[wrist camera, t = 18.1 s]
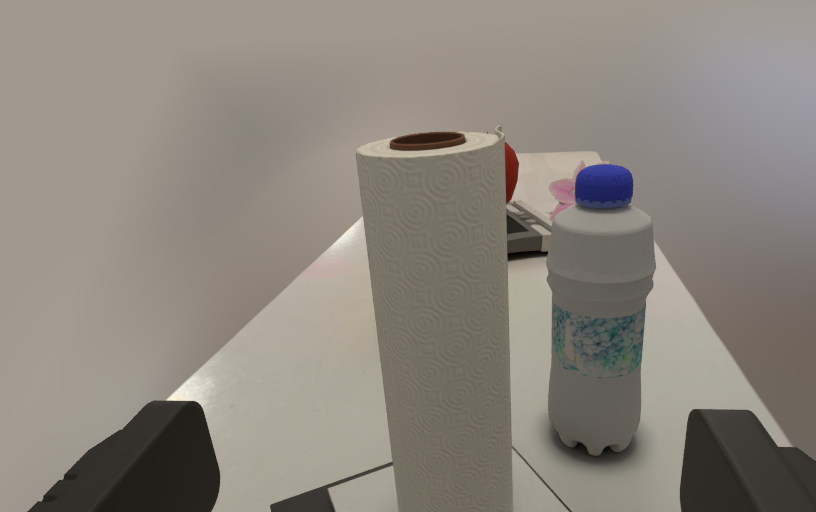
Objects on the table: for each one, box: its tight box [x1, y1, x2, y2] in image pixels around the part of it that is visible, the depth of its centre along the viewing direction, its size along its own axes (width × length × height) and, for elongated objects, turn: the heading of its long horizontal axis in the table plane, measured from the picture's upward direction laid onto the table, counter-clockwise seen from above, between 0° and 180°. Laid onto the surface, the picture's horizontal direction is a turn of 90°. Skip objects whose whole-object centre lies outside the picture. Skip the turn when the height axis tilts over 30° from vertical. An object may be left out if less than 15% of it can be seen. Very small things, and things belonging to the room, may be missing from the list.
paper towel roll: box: [356, 125, 513, 512], centre depth 26 cm, size 7×6×21 cm
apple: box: [487, 133, 519, 204], centre depth 94 cm, size 10×10×14 cm
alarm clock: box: [506, 201, 553, 253], centre depth 80 cm, size 17×5×16 cm
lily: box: [549, 160, 609, 221], centre depth 85 cm, size 12×12×10 cm
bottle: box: [546, 164, 656, 456], centre depth 36 cm, size 7×7×20 cm
